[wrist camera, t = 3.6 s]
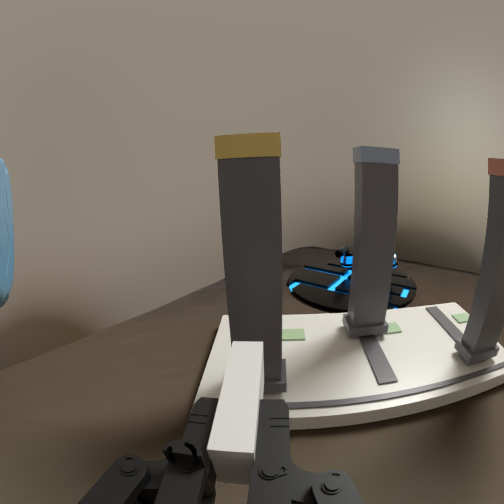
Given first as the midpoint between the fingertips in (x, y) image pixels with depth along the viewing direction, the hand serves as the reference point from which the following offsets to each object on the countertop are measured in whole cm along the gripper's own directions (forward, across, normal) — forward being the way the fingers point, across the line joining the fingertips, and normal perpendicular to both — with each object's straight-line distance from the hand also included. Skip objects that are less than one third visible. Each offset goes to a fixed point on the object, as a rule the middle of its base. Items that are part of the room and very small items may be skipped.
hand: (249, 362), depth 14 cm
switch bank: (+10, +11, -9) cm, 18 cm away
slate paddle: (+14, +11, -7) cm, 19 cm away
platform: (+31, +14, -10) cm, 36 cm away
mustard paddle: (+6, 0, -7) cm, 9 cm away
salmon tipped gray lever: (+6, +22, -7) cm, 24 cm away
